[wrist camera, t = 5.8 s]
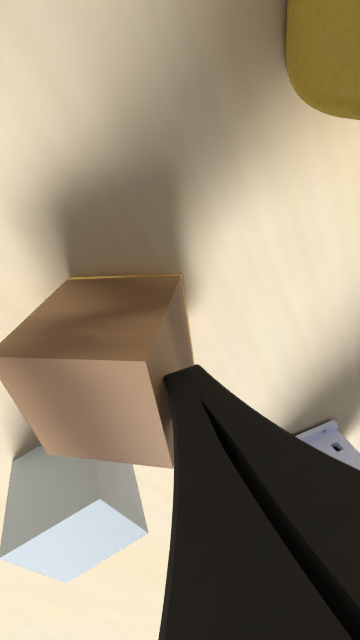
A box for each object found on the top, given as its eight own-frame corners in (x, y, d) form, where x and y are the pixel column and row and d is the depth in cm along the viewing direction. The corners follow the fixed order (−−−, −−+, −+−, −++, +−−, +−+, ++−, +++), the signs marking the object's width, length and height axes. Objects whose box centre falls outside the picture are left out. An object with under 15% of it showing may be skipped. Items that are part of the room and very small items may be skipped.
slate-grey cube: (89, 415, 18) (99, 498, 13) (130, 455, 20) (148, 533, 16) (12, 460, 17) (-2, 558, 13) (64, 493, 20) (66, 582, 16)
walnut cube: (181, 273, 12) (145, 361, 8) (194, 366, 15) (173, 468, 11) (69, 277, 13) (-15, 356, 9) (101, 363, 16) (47, 454, 12)
